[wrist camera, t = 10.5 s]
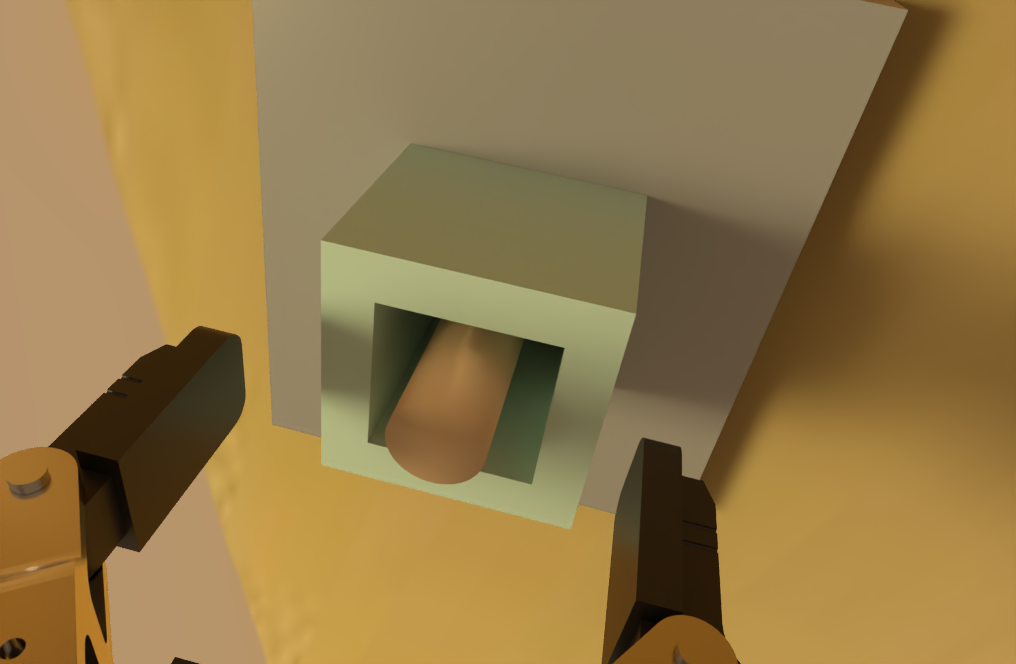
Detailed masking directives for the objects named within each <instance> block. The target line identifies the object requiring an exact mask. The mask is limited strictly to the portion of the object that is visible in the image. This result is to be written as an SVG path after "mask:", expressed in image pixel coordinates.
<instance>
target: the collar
mask: <svg viewBox="0 0 1016 664" xmlns="http://www.w3.org/2000/svg"><path fill="white" fill-rule="evenodd" d="M646 203H647V195H642V194H638V193H633V192H629V191H624V190H620V189H615V188H611V187H606V186H602V185H597V184H592V183H588V182H583V181H579V180H574V179H570V178H565V177H561V176H556V175H552V174H547V173H542V172H538V171H533V170H529V169H524V168H520V167H515V166H511V165H506V164H502V163H497V162H493V161H488V160H483V159H479V158H474V157H470V156H465V155H461V154H456V153H452V152H447V151H443V150H438V149H433V148H429V147H424V146H420V145H415V144H411V143H410V145H409V146H408V147H407V148H406V149H405V150H404V151H403V152H402V153H401V154H400V155H399V156H398V157H397V159H396V160H395V161H394V162H393V163H392V164H391V165H390V166H389V167H388V168H387V169H386V170H385V172H384V173H383V174H382V175H381V176H380V177H379V178H378V179H377V180H376V181H375V182H374V183H373V184H372V186H371V187H370V188H369V189H368V190H367V191H366V192H365V193H364V194H363V195H362V196H361V197H360V198H359V200H358V201H357V202H356V203H355V204H354V205H353V206H352V207H351V208H350V209H349V210H348V211H347V213H346V214H345V215H344V216H343V217H342V218H341V219H340V220H339V221H338V222H337V223H336V224H335V225H334V227H333V228H332V229H331V230H330V231H329V232H328V233H327V234H326V235H325V236H324V237H323V238H322V240H321V465H323V466H327V467H331V468H335V469H339V470H342V471H346V472H350V473H354V474H358V475H362V476H366V477H370V478H373V479H377V480H381V481H385V482H389V483H393V484H397V485H400V486H404V487H408V488H412V489H416V490H420V491H424V492H428V493H431V494H435V495H439V496H443V497H447V498H451V499H455V500H458V501H462V502H466V503H470V504H474V505H478V506H482V507H486V508H489V509H493V510H497V511H501V512H505V513H509V514H513V515H516V516H520V517H524V518H528V519H532V520H536V521H540V522H544V523H547V524H551V525H555V526H559V527H563V528H567V529H571V527H572V524H573V520H574V517H575V514H576V511H577V507H578V504H579V501H580V497H581V494H582V491H583V487H584V484H585V481H586V478H587V474H588V471H589V468H590V464H591V461H592V458H593V454H594V451H595V448H596V445H597V441H598V438H599V435H600V431H601V428H602V425H603V422H604V418H605V415H606V412H607V408H608V405H609V402H610V398H611V395H612V392H613V389H614V385H615V382H616V379H617V375H618V372H619V369H620V365H621V362H622V359H623V356H624V352H625V349H626V346H627V342H628V339H629V336H630V332H631V329H632V326H633V323H634V319H635V316H636V310H637V300H638V289H639V278H640V267H641V257H642V246H643V235H644V225H645V214H646ZM441 318H442V319H446V320H450V321H454V322H458V323H462V324H467V325H471V326H475V327H479V328H483V329H488V330H492V331H496V332H500V333H504V334H509V335H513V336H517V337H521V338H524V342H523V345H522V348H521V351H520V354H519V357H518V360H517V364H516V367H515V370H514V373H513V376H512V379H511V382H510V385H509V389H508V392H507V395H506V398H505V401H504V404H503V407H502V411H501V414H500V417H499V420H498V423H497V426H496V429H495V432H494V436H493V439H492V442H491V445H490V448H489V451H488V454H487V458H486V461H485V464H484V466H483V468H482V469H481V471H480V472H479V473H478V474H477V475H476V476H475V477H473V478H472V479H470V480H468V481H465V482H462V483H458V484H436V483H432V482H428V481H425V480H422V479H420V478H417V477H416V476H414V475H412V474H410V473H409V472H407V471H406V470H404V469H403V468H402V467H401V466H400V465H399V464H398V463H397V462H396V461H395V460H394V459H393V457H392V456H391V454H390V452H389V450H388V448H387V445H386V441H385V430H386V426H387V424H388V422H389V420H390V418H391V416H392V414H393V412H394V410H395V408H396V406H397V404H398V402H399V400H400V398H401V396H402V394H403V392H404V390H405V388H406V387H407V385H408V383H409V381H410V379H411V377H412V375H413V373H414V371H415V369H416V367H417V365H418V363H419V361H420V359H421V357H422V355H423V353H424V351H425V349H426V347H427V345H428V344H429V342H430V340H431V338H432V336H433V334H434V332H435V330H436V328H437V326H438V324H439V322H440V320H441Z"/></svg>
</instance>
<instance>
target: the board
mask: <svg viewBox="0 0 1016 664" xmlns="http://www.w3.org/2000/svg"><path fill="white" fill-rule="evenodd" d="M252 4H253V25H254V46H255V68H256V89H257V110H258V131H259V153H260V174H261V195H262V216H263V237H264V259H265V280H266V301H267V322H268V344H269V365H270V386H271V407H272V425H275V426H279V427H283V428H287V429H291V430H295V431H299V432H302V433H306V434H310V435H314V436H318V437H321V240H322V238H323V237H324V236H325V235H326V234H327V233H328V232H329V231H330V230H331V229H332V228H333V227H334V225H335V224H336V223H337V222H338V221H339V220H340V219H341V218H342V217H343V216H344V215H345V214H346V213H347V211H348V210H349V209H350V208H351V207H352V206H353V205H354V204H355V203H356V202H357V201H358V200H359V198H360V197H361V196H362V195H363V194H364V193H365V192H366V191H367V190H368V189H369V188H370V187H371V186H372V184H373V183H374V182H375V181H376V180H377V179H378V178H379V177H380V176H381V175H382V174H383V173H384V172H385V170H386V169H387V168H388V167H389V166H390V165H391V164H392V163H393V162H394V161H395V160H396V159H397V157H398V156H399V155H400V154H401V153H402V152H403V151H404V150H405V149H406V148H407V147H408V146H409V145H410V143H411V144H415V145H420V146H424V147H429V148H433V149H438V150H443V151H447V152H452V153H456V154H461V155H465V156H470V157H474V158H479V159H483V160H488V161H493V162H497V163H502V164H506V165H511V166H515V167H520V168H524V169H529V170H533V171H538V172H542V173H547V174H552V175H556V176H561V177H565V178H570V179H574V180H579V181H583V182H588V183H592V184H597V185H602V186H606V187H611V188H615V189H620V190H624V191H629V192H633V193H638V194H642V195H647V203H646V214H645V225H644V235H643V246H642V257H641V267H640V278H639V289H638V300H637V310H636V316H635V319H634V323H633V326H632V329H631V332H630V336H629V339H628V342H627V346H626V349H625V352H624V356H623V359H622V362H621V365H620V369H619V372H618V375H617V379H616V382H615V385H614V389H613V392H612V395H611V398H610V402H609V405H608V408H607V412H606V415H605V418H604V422H603V425H602V428H601V431H600V435H599V438H598V441H597V445H596V448H595V451H594V454H593V458H592V461H591V464H590V468H589V471H588V474H587V478H586V481H585V484H584V487H583V491H582V494H581V497H580V501H579V505H583V506H587V507H590V508H594V509H598V510H602V511H606V512H610V513H614V514H616V510H617V505H618V501H619V497H620V494H621V490H622V488H623V485H624V482H625V479H626V477H627V474H628V471H629V469H630V466H631V463H632V460H633V458H634V455H635V452H636V450H637V447H638V444H639V442H640V440H641V438H642V437H644V438H648V439H652V440H656V441H660V442H664V443H668V444H672V445H676V446H680V447H681V450H682V476H686V477H690V478H694V479H698V480H700V478H701V475H702V473H703V471H704V469H705V466H706V464H707V462H708V460H709V457H710V455H711V453H712V451H713V448H714V446H715V444H716V442H717V439H718V437H719V435H720V433H721V430H722V428H723V426H724V424H725V421H726V419H727V417H728V415H729V412H730V410H731V408H732V406H733V403H734V401H735V399H736V397H737V394H738V392H739V390H740V388H741V385H742V383H743V381H744V379H745V376H746V374H747V372H748V370H749V367H750V365H751V363H752V361H753V358H754V356H755V354H756V352H757V349H758V347H759V345H760V343H761V340H762V338H763V336H764V334H765V331H766V329H767V327H768V325H769V323H770V320H771V318H772V316H773V314H774V311H775V309H776V307H777V305H778V302H779V300H780V298H781V296H782V293H783V291H784V289H785V287H786V284H787V282H788V280H789V278H790V275H791V273H792V271H793V269H794V266H795V264H796V262H797V260H798V257H799V255H800V253H801V251H802V248H803V246H804V244H805V242H806V239H807V237H808V235H809V233H810V230H811V228H812V226H813V224H814V221H815V219H816V217H817V215H818V212H819V210H820V208H821V206H822V203H823V201H824V199H825V197H826V194H827V192H828V190H829V188H830V185H831V183H832V181H833V179H834V176H835V174H836V172H837V170H838V167H839V165H840V163H841V161H842V158H843V156H844V154H845V152H846V149H847V147H848V145H849V143H850V140H851V138H852V136H853V134H854V131H855V129H856V127H857V125H858V122H859V120H860V118H861V116H862V113H863V111H864V109H865V107H866V104H867V102H868V100H869V98H870V95H871V93H872V91H873V89H874V86H875V84H876V82H877V80H878V77H879V75H880V73H881V71H882V68H883V66H884V64H885V62H886V59H887V57H888V55H889V53H890V50H891V48H892V46H893V44H894V41H895V39H896V37H897V35H898V32H899V30H900V28H901V26H902V23H903V21H904V19H905V17H906V14H907V12H908V9H906V8H905V7H903V6H902V5H900V4H899V3H897V2H896V1H894V0H252ZM523 342H524V338H521V337H517V336H513V335H509V334H504V333H500V332H496V331H492V330H488V329H483V328H479V327H475V326H471V325H467V324H462V323H458V322H454V321H450V320H446V319H442V318H441V320H440V322H439V324H438V326H437V328H436V330H435V332H434V334H433V336H432V338H431V340H430V342H429V344H428V345H427V347H426V349H425V351H424V353H423V355H422V357H421V359H420V361H419V363H418V365H417V367H416V369H415V371H414V373H413V375H412V377H411V379H410V381H409V383H408V385H407V387H406V388H405V390H404V392H403V394H402V396H401V398H400V400H399V402H398V404H397V406H396V408H395V410H394V412H393V414H392V416H391V418H390V420H389V422H388V424H387V426H386V430H385V441H386V445H387V448H388V450H389V452H390V454H391V456H392V457H393V459H394V460H395V461H396V462H397V463H398V464H399V465H400V466H401V467H402V468H403V469H404V470H406V471H407V472H409V473H410V474H412V475H414V476H416V477H417V478H420V479H422V480H425V481H428V482H432V483H436V484H458V483H462V482H465V481H468V480H470V479H472V478H473V477H475V476H476V475H477V474H478V473H479V472H480V471H481V469H482V468H483V466H484V464H485V461H486V458H487V454H488V451H489V448H490V445H491V442H492V439H493V436H494V432H495V429H496V426H497V423H498V420H499V417H500V414H501V411H502V407H503V404H504V401H505V398H506V395H507V392H508V389H509V385H510V382H511V379H512V376H513V373H514V370H515V367H516V364H517V360H518V357H519V354H520V351H521V348H522V345H523Z"/></svg>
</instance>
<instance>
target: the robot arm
mask: <svg viewBox="0 0 1016 664" xmlns="http://www.w3.org/2000/svg"><path fill="white" fill-rule="evenodd" d="M245 395H246V394H245V380H244V367H243V355H242V343H241V339H240V337H239V336H238V335H235V334H231V333H227V332H223V331H219V330H215V329H211V328H207V327H203V326H199V327H196V328H195V329H193V330H192V331H191V332H190V333H189V334H188V335H187V336H186V337H185V338H184V339H183V341H182V342H181V343H180V344H179V345H178V346H177V347H175V346H171V345H167V344H166V345H164V346H162V347H160V348H158V349H156V350H154V351H152V352H150V353H148V354H146V355H144V356H142V357H140V358H139V359H138V360H137V361H136V362H135V363H134V364H133V365H132V366H131V367H130V368H129V369H128V370H127V371H126V372H125V373H124V374H123V375H122V378H121V379H118V380H117V381H116V382H115V383H114V384H112V385H111V386H110V387H109V388H108V390H107V393H103V394H102V395H101V396H100V397H99V398H98V399H97V400H96V401H95V402H94V403H93V404H92V405H91V406H90V407H89V408H88V409H87V410H86V411H85V412H84V413H83V414H82V415H81V416H80V417H79V418H77V419H76V421H74V423H72V424H71V425H70V426H69V427H68V428H67V429H66V430H65V431H64V432H63V433H62V434H61V435H60V436H59V437H58V438H57V439H56V440H55V441H54V442H53V443H52V444H51V445H50V446H49V447H39V448H38V447H37V448H30V449H26V450H22V451H18V452H15V453H13V454H10V455H8V456H6V457H4V458H2V459H1V460H0V664H113V656H112V642H111V628H110V613H109V597H108V582H107V568H106V564H105V560H106V559H107V557H108V556H109V555H110V553H111V552H112V551H113V550H114V549H115V547H116V546H118V547H122V548H126V549H129V550H133V551H137V552H140V551H141V550H142V548H143V547H144V546H145V544H146V543H147V541H148V540H149V539H150V538H151V536H152V535H153V534H154V532H155V531H156V530H157V528H158V527H159V526H160V524H161V523H162V522H163V520H164V519H165V518H166V516H167V515H168V514H169V512H170V511H171V510H172V508H173V507H174V506H175V504H176V503H177V502H178V500H179V499H180V498H181V496H182V495H183V494H184V492H185V491H186V490H187V488H188V487H189V486H190V484H191V483H192V482H193V480H194V479H195V478H196V476H197V475H198V474H199V472H200V471H201V470H202V468H203V467H204V466H205V464H206V463H207V462H208V460H209V459H210V458H211V456H212V455H213V454H214V452H215V451H216V450H217V448H218V447H219V446H220V444H221V443H222V442H223V440H224V439H225V438H226V436H227V435H228V434H229V432H230V431H231V430H232V428H233V427H234V426H235V424H236V423H237V421H238V419H239V417H240V415H241V413H242V410H243V407H244V403H245ZM716 529H717V525H716V508H715V503H714V501H713V499H712V497H711V495H710V493H709V491H708V490H707V488H706V486H705V484H704V482H703V481H702V480H698V479H694V478H690V477H686V476H682V450H681V447H680V446H676V445H672V444H668V443H664V442H660V441H656V440H652V439H648V438H644V437H642V438H641V440H640V442H639V444H638V447H637V450H636V452H635V455H634V458H633V460H632V463H631V466H630V469H629V471H628V474H627V477H626V479H625V482H624V485H623V488H622V490H621V494H620V497H619V501H618V505H617V510H616V515H615V522H614V533H613V544H612V555H611V566H610V577H609V588H608V600H607V611H606V622H605V633H604V644H603V655H602V664H740V662H739V661H738V660H737V658H736V656H735V653H734V651H733V649H732V647H731V645H730V644H729V642H728V641H727V640H726V638H725V635H724V632H723V625H722V611H721V593H720V576H719V559H718V553H717V549H718V542H717V533H716ZM171 664H198V663H195V662H191V661H188V660H184V659H180V658H177V657H175V658H174V660H173V662H172V663H171Z"/></svg>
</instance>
